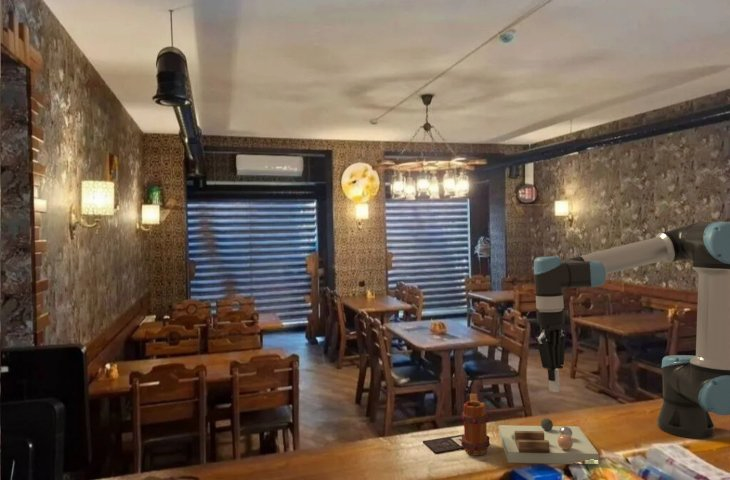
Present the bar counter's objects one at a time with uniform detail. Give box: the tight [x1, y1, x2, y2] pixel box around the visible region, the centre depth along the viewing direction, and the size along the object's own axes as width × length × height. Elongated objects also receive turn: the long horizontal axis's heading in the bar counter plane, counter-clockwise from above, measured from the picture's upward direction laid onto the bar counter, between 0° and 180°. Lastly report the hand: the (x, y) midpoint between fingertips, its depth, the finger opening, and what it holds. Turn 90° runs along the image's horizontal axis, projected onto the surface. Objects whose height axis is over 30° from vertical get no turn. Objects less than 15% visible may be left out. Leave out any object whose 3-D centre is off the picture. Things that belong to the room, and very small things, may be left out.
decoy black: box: [540, 417, 554, 431], centre depth 156 cm, size 4×4×4 cm
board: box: [498, 424, 600, 465], centre depth 150 cm, size 24×20×3 cm
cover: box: [514, 431, 550, 453], centre depth 143 cm, size 8×8×3 cm
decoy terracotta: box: [558, 434, 573, 450], centre depth 142 cm, size 4×4×4 cm
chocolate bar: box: [422, 433, 465, 455], centre depth 156 cm, size 9×1×18 cm
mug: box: [461, 393, 491, 456], centre depth 151 cm, size 15×8×15 cm, turn 168°
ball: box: [560, 425, 572, 437], centre depth 149 cm, size 4×4×4 cm
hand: (554, 391), depth 148 cm, fingers closed
